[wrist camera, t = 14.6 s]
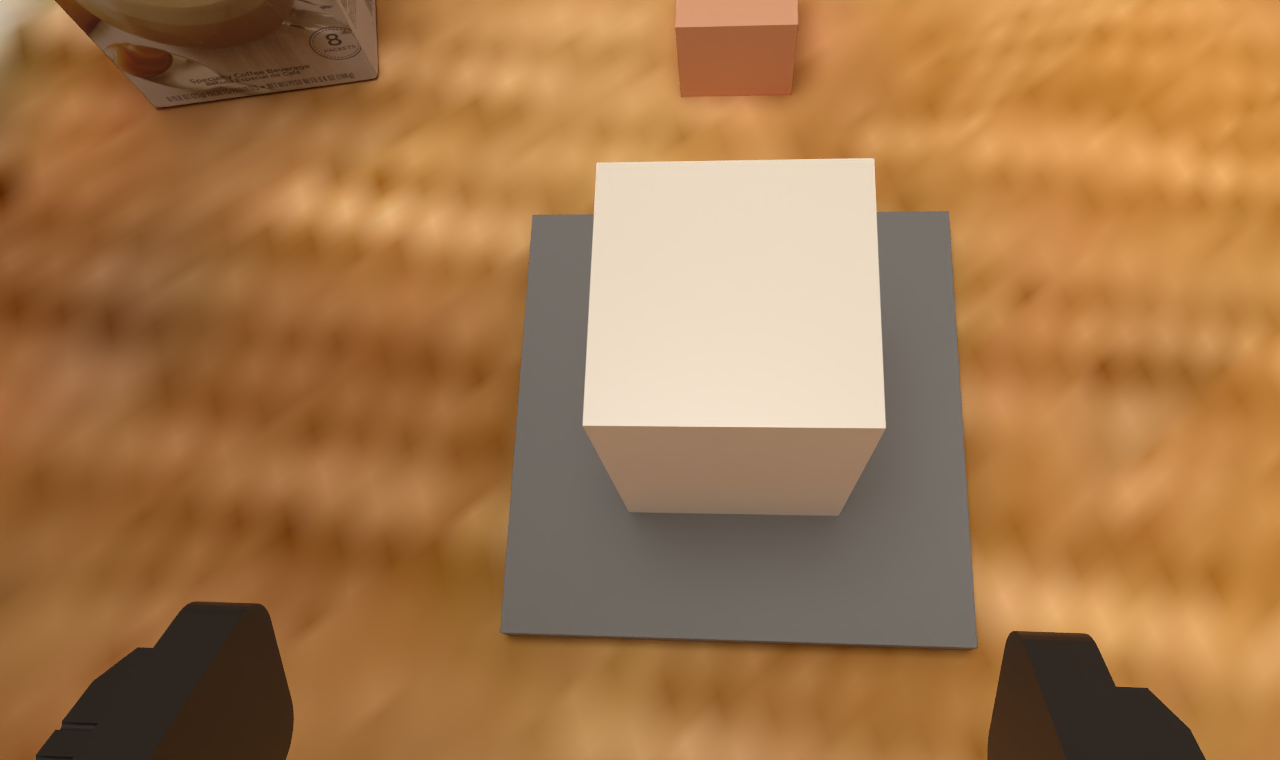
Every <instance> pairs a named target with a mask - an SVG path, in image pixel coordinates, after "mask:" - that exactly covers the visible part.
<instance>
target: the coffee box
mask: <svg viewBox="0 0 1280 760" xmlns="http://www.w3.org/2000/svg"><path fill="white" fill-rule="evenodd" d="M55 1H56V2H57V3H58V4H59V5H60V6H61V7H62V8H63V10H64V11H65V12H66V13H67V14H68V15H69V16H70V17H71V18H72V19H73V20H74V21H75V22H76V23H77V24H78V26H79V27H80V28H81V29H82V30H83V31H84V32H85V33H86V34H87V35H88V36H89V37H90V38H91V39H92V40H93V42H94V43H95V44H96V45H97V46H98V47H99V48H100V49H101V50H102V51H103V52H104V53H105V55H106V56H107V57H108V58H109V59H110V60H111V61H112V62H113V63H114V64H115V65H116V66H117V67H118V68H119V69H120V70H121V71H122V72H123V73H124V74H125V75H126V76H127V77H128V79H129V80H130V81H131V82H132V83H133V84H134V85H135V86H136V87H137V88H138V89H139V90H140V91H141V92H142V94H143V95H144V96H145V97H146V98H147V99H148V100H149V102H150V103H151V104H152V105H153V106H155V107H158V108H159V107H168V106H175V105H183V104H190V103H197V102H205V101H213V100H220V99H227V98H235V97H242V96H250V95H257V94H265V93H273V92H279V91H287V90H295V89H303V88H310V87H317V86H325V85H333V84H340V83H347V82H354V81H361V80H368V79H373V78H376V77H377V75H378V51H377V31H376V7H375V0H55Z"/></svg>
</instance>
